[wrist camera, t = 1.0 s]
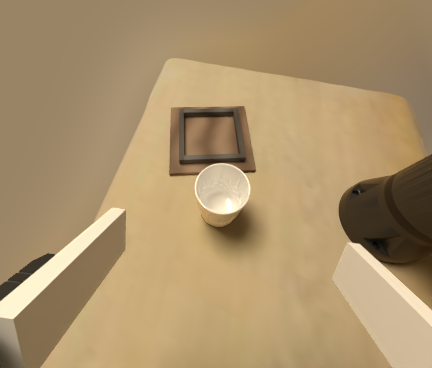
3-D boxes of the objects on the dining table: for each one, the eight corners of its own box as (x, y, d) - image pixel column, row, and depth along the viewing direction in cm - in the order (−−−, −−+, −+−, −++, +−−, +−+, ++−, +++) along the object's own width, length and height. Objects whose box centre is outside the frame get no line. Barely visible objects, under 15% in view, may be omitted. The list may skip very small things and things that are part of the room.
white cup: (238, 190, 39) (249, 164, 30) (240, 231, 36) (252, 215, 27) (198, 188, 39) (196, 162, 30) (195, 229, 36) (192, 213, 27)
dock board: (243, 108, 48) (245, 101, 46) (254, 171, 41) (257, 165, 39) (171, 110, 47) (169, 102, 45) (170, 175, 40) (168, 169, 38)
